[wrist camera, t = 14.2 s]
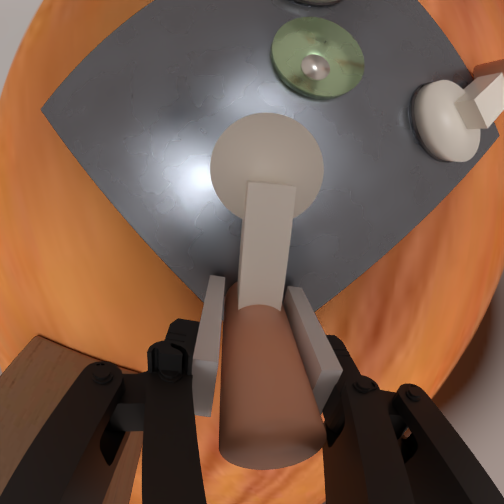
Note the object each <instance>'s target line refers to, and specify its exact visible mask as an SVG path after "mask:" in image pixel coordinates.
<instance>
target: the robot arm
mask: <svg viewBox="0 0 504 504" xmlns="http://www.w3.org/2000/svg"><path fill="white" fill-rule="evenodd" d="M224 286H225V277H221V276H214V275H210V278H209V283H208V287H207V292H206V296H205V301H204V306H203V310H202V315H201V320H200V322H197V321H191V320H185V319H179V318H178V319H176V320H175V321H174V322H172V323H171V324H170V327H169V329H168V333H167V335H166V337H165V340H164V341H160V342H156V343H154V344H153V345H151V346H150V347H149V349H148V351H147V359H148V371H146V372H143V373H137V374H122V370H121V369H120V368H119V367H118V366H117V365H115V364H113V363H111V362H105V361H98V362H94V363H91V364H89V365H87V366H86V367H85V368H84V369H83V370H82V372H81V373H80V374H79V376H78V377H77V378H76V380H75V381H74V383H73V384H72V385H71V387H70V388H69V389H68V391H67V392H66V394H65V395H64V396H63V398H62V399H61V401H60V402H59V403H58V405H57V406H56V408H55V409H54V410H53V412H52V413H51V415H50V416H49V418H48V419H47V421H46V422H45V424H44V425H43V427H42V428H41V430H40V431H39V433H38V434H37V436H36V437H35V439H34V440H33V442H32V443H31V445H30V446H29V448H28V450H27V451H26V453H25V454H24V456H23V458H22V459H21V461H20V463H19V464H18V466H17V468H16V469H15V471H14V473H13V474H12V476H11V478H10V479H9V481H8V483H7V485H6V487H5V488H4V490H3V492H2V494H1V496H0V504H102V503H103V500H104V498H105V495H106V492H107V490H108V487H109V485H110V482H111V480H112V477H113V474H114V472H115V469H116V467H117V464H118V462H119V459H120V457H121V455H122V452H123V450H124V447H125V445H126V442H127V440H128V438H129V435H130V433H131V431H143V448H142V504H207V503H206V497H205V491H204V485H203V479H202V472H201V465H200V458H199V450H198V442H197V433H196V424H195V415H199V416H206V417H211V410H212V403H213V396H214V389H215V382H216V376H217V369H218V362H219V348H220V334H221V322H222V309H223V297H224ZM283 306H284V309H285V312H286V315H287V318H288V321H289V324H290V326H291V329H292V332H293V335H294V338H295V341H296V344H297V347H298V350H299V353H300V356H301V359H302V362H303V365H304V367H305V370H306V373H307V376H308V379H309V382H310V385H311V388H312V391H313V394H314V397H315V400H316V403H317V406H318V409H319V412H320V415H321V414H322V412H323V415H324V418H325V421H324V423H323V424H324V427H325V430H326V434H327V438H326V441H325V444H324V445H323V447H322V448H323V461H324V476H325V494H326V504H504V498H503V496H502V494H501V493H500V491H499V490H498V488H497V487H496V486H495V484H494V483H493V481H492V480H491V478H490V477H489V475H488V474H487V473H486V471H485V470H484V468H483V467H482V466H481V464H480V463H479V461H478V460H477V459H476V457H475V456H474V454H473V453H472V452H471V450H470V449H469V448H468V446H467V445H466V444H465V442H464V441H463V440H462V438H461V437H460V436H459V434H458V433H457V432H456V431H455V429H454V428H453V427H452V425H451V424H450V423H449V421H448V420H447V419H446V418H445V416H444V415H443V414H442V412H441V411H440V410H439V409H438V407H437V406H436V405H435V404H434V403H433V401H432V400H431V399H430V397H429V396H428V395H427V394H426V392H425V391H424V390H423V389H421V388H420V387H418V386H417V385H414V384H403V385H401V386H400V387H399V389H398V390H397V392H396V393H395V392H389V391H383V390H380V389H379V387H378V385H377V383H376V382H375V381H373V380H372V379H370V378H368V377H366V376H362V375H361V374H360V372H359V370H358V369H357V367H356V365H355V363H354V361H353V359H352V358H351V357H350V354H349V352H348V351H347V349H346V347H345V345H344V343H343V342H342V341H341V340H340V339H339V338H337V337H336V336H335V335H325V333H324V331H323V329H322V327H321V325H320V323H319V321H318V319H317V317H316V315H315V313H314V311H313V309H312V307H311V305H310V303H309V301H308V299H307V297H306V295H305V293H304V291H303V289H302V288H300V287H292V286H288V287H287V291H286V295H285V299H284V303H283ZM408 428H409V429H410V431H411V432H412V433H411V435H410V436H409V437H408V438H407V437H405V436H404V432H405V431H406V430H407V429H408Z"/></svg>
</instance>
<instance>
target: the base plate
mask: <svg viewBox="0 0 504 504" xmlns="http://www.w3.org/2000/svg"><path fill="white" fill-rule="evenodd" d="M440 80H449V81H452V82H454V83H456V84H457V85H459V86H460V87H461V88H462V89H464V88H465V87H467V86H468V85H469V84H470V83H471V82H473V81H474V80H473V78H472V76H471V74H470V73H469V71H468V69H467V68H466V66H465V64H464V63H463V61H462V59H461V58H460V56H459V55H458V53H457V51H456V50H455V48H454V47H453V45H452V44H451V43H450V41H449V40H448V38H447V37H446V35H445V34H444V33H443V31H442V30H441V29H440V27H439V26H438V25H437V23H436V22H435V21H434V19H433V18H432V17H431V16H430V15H429V13H428V12H427V11H426V10H425V8H424V7H423V6H422V5H421V4H420V3H419V2H418V0H337V1H334V2H329V3H315V2H309V1H304V0H154V1H153V2H151V3H150V4H148V5H147V6H145V7H144V8H143V9H141V10H140V11H139V12H137V13H136V14H135V15H133V16H132V17H131V18H129V19H128V20H127V21H126V22H124V23H123V24H122V25H121V26H119V27H118V28H117V29H116V30H115V31H113V32H112V33H111V34H110V35H109V36H108V37H107V38H105V39H104V40H103V41H102V42H101V43H100V44H99V45H98V46H97V47H96V48H95V49H94V50H93V51H92V52H90V53H89V54H88V55H87V56H86V57H85V58H84V59H83V60H82V62H81V63H80V64H79V65H78V66H77V67H76V68H75V69H74V70H73V71H72V72H71V73H70V74H69V75H68V77H67V78H66V79H65V80H64V81H63V82H62V83H61V85H60V86H59V87H58V88H57V89H56V91H55V92H54V93H53V94H52V95H51V97H50V98H49V99H48V101H47V102H46V103H45V104H44V106H43V107H42V108H41V111H42V112H43V114H44V115H45V117H46V118H47V119H48V121H49V122H50V124H51V125H52V127H53V128H54V129H55V131H56V132H57V134H58V135H59V136H60V138H61V139H62V140H63V142H64V143H65V145H66V146H67V147H68V149H69V150H70V151H71V153H72V154H73V155H74V157H75V158H76V159H77V161H78V162H79V163H80V164H81V166H82V167H83V168H84V170H85V171H86V172H87V173H88V175H89V176H90V177H91V178H92V180H93V181H94V182H95V183H96V185H97V186H98V187H99V188H100V190H101V191H102V192H103V193H104V194H105V196H106V197H107V198H108V199H109V200H110V202H111V203H112V204H113V205H114V206H115V208H116V209H117V210H118V211H119V212H120V213H121V215H122V216H123V217H124V218H125V219H126V220H127V222H128V223H129V224H130V225H131V226H132V227H133V228H134V230H135V231H136V232H137V233H138V234H139V235H140V236H141V237H142V239H143V240H144V241H145V242H146V243H147V244H148V245H149V246H150V247H151V248H152V250H153V251H154V252H155V253H156V254H157V255H158V256H159V257H160V258H161V259H162V260H163V261H164V262H165V264H166V265H167V266H168V267H169V268H170V269H171V270H172V271H173V272H174V273H175V274H176V275H177V276H178V277H179V278H180V279H181V280H182V281H183V282H184V283H185V284H186V285H187V286H188V287H189V288H190V289H191V290H192V291H193V292H194V293H195V294H196V295H197V296H198V297H199V298H200V299H201V300H202V301H203V302H204V301H205V296H206V292H207V287H208V283H209V278H210V275H214V276H221V277H225V286H224V297H223V309H222V321H223V320H224V302H225V296H226V294H227V291H228V290H229V288H230V287H231V286H232V285H233V284H234V283H236V282H237V281H238V269H239V255H240V242H241V229H242V219H241V218H239V217H238V216H236V215H235V214H233V213H232V212H231V211H229V210H228V209H227V208H226V207H225V206H224V205H223V203H222V202H221V201H220V199H219V198H218V196H217V194H216V192H215V190H214V188H213V185H212V181H211V175H210V161H211V155H212V152H213V149H214V146H215V144H216V142H217V140H218V139H219V137H220V136H221V135H222V133H223V132H224V131H225V130H226V129H227V128H228V127H229V126H230V125H231V124H233V123H234V122H236V121H237V120H239V119H241V118H243V117H246V116H249V115H252V114H257V113H276V114H281V115H284V116H287V117H290V118H292V119H294V120H296V121H297V122H299V123H300V124H301V125H303V126H304V127H305V128H306V129H307V130H308V131H309V132H310V133H311V134H312V136H313V137H314V139H315V140H316V142H317V144H318V146H319V148H320V151H321V153H322V158H323V165H324V174H323V181H322V184H321V188H320V190H319V192H318V195H317V196H316V198H315V200H314V201H313V202H312V204H311V205H310V206H309V207H308V208H307V209H306V210H305V211H304V212H303V213H301V214H300V215H298V216H297V217H295V218H293V222H292V231H291V239H290V247H289V255H288V262H287V270H286V277H285V285H284V292H283V299H282V303H284V299H285V295H286V291H287V287H288V286H292V287H300V288H302V289H303V291H304V293H305V295H306V297H307V299H308V301H309V303H310V305H311V307H312V309H313V311H314V312H315V311H316V310H318V309H319V308H320V307H322V306H323V305H324V304H325V303H327V302H328V301H329V300H331V299H332V298H333V297H334V296H336V295H337V294H338V293H339V292H341V291H342V290H343V289H344V288H346V287H347V286H348V285H349V284H351V283H352V282H353V281H354V280H356V279H357V278H358V277H359V276H360V275H362V274H363V273H364V272H365V271H366V270H367V269H369V268H370V267H371V266H372V265H373V264H375V263H376V262H377V261H378V260H379V259H380V258H381V257H383V256H384V255H385V254H386V253H387V252H388V251H389V250H391V249H392V248H393V247H394V246H395V245H396V244H397V243H398V242H399V241H400V240H402V239H403V238H404V237H405V236H406V235H407V234H408V233H409V232H410V231H411V230H412V229H413V228H414V227H415V226H417V225H418V224H419V223H420V222H421V221H422V220H423V219H424V218H425V217H426V216H427V215H428V214H429V213H430V212H431V211H432V210H433V209H434V208H435V207H436V206H437V205H438V204H439V203H440V202H441V201H442V200H443V199H444V198H445V197H446V196H447V195H448V194H449V193H450V192H451V191H452V190H453V188H454V187H455V186H456V185H457V184H458V183H459V182H460V181H461V180H462V179H463V178H464V177H465V176H466V174H467V173H468V172H469V171H470V170H471V169H472V168H473V167H474V165H475V164H476V163H477V162H478V161H479V160H480V159H481V157H482V156H483V155H484V154H485V153H486V151H487V150H488V149H489V148H490V147H491V145H492V144H493V143H494V142H495V141H496V139H497V138H498V137H499V133H498V130H497V128H496V126H495V123H494V122H493V123H492V124H491V125H490V126H489V127H488V129H480V143H479V147H478V149H477V151H476V153H475V155H474V156H473V157H472V158H471V159H470V160H468V161H465V162H455V161H445V160H441V159H439V158H438V157H436V156H435V155H434V154H432V153H431V152H430V151H429V149H428V148H427V147H426V145H425V144H424V142H423V141H422V139H421V137H420V134H419V132H418V129H417V126H416V122H415V115H414V104H415V99H416V96H417V93H418V92H419V90H420V89H421V88H422V87H423V86H425V85H427V84H430V83H433V82H436V81H440Z"/></svg>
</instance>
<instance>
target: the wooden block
mask: <svg viewBox="0 0 504 504" xmlns="http://www.w3.org/2000/svg"><path fill="white" fill-rule="evenodd" d="M98 361H100V360H97V359H94V358H92V357H89V356H86V355H84V354H81V353H78V352H76V351H73V350H71V349H68V348H66V347H64V346H61V345H59V344H57V343H54V342H52V341H50V340H47V339H45V338H43V337H41V336H35V337H34V338H33V339H32V340H31V341H30V342H29V343H28V345H27V346H26V347H25V348H24V349H23V350H22V351H21V352H20V353H19V355H18V356H17V357H16V358H15V359H14V360H13V361H12V363H11V364H10V365H9V366H8V367H7V368H6V370H5V371H4V372H3V373H2V374H1V376H0V496H1V494H2V492H3V490H4V488H5V487H6V485H7V483H8V481H9V479H10V478H11V476H12V474H13V473H14V471H15V469H16V468H17V466H18V464H19V463H20V461H21V459H22V458H23V456H24V454H25V453H26V451H27V450H28V448H29V446H30V445H31V443H32V442H33V440H34V439H35V437H36V436H37V434H38V433H39V431H40V430H41V428H42V427H43V425H44V424H45V422H46V421H47V419H48V418H49V416H50V415H51V413H52V412H53V410H54V409H55V408H56V406H57V405H58V403H59V402H60V401H61V399H62V398H63V396H64V395H65V394H66V392H67V391H68V389H69V388H70V387H71V385H72V384H73V383H74V381H75V380H76V378H77V377H78V376H79V374H80V373H81V372H82V370H83V369H84V368H85V367H86V366H87V365H89V364H91V363H94V362H98ZM119 368H120V369H121V370H122V374H137V373H138V372H134V371H131V370H128V369H124V368H121V367H119ZM142 444H143V431H131V433H130V435H129V438H128V440H127V442H126V445H125V447H124V450H123V452H122V455H121V457H120V459H119V462H118V464H117V467H116V469H115V472H114V474H113V477H112V480H111V482H110V485H109V487H108V490H107V492H106V495H105V498H104V500H103V503H102V504H129V501H130V497H131V492H132V487H133V482H134V478H135V473H136V469H137V465H138V460H139V456H140V452H141V448H142Z"/></svg>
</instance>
